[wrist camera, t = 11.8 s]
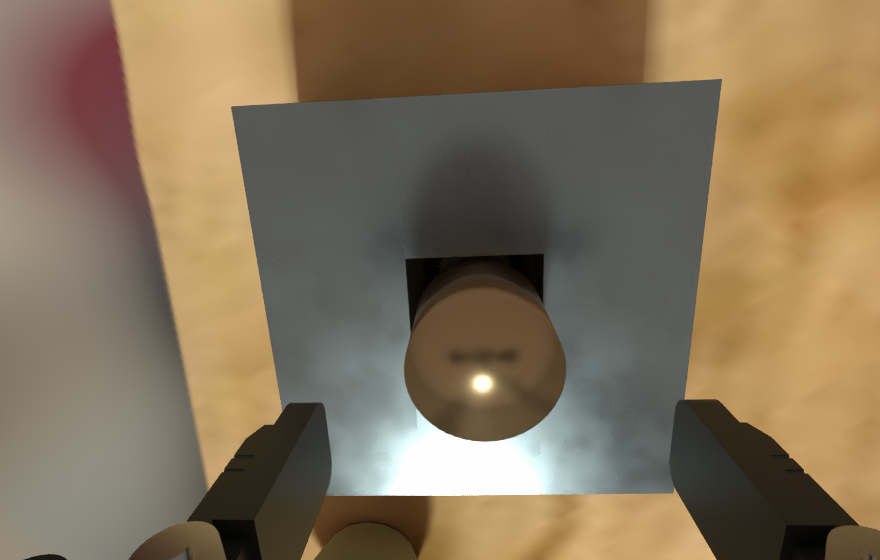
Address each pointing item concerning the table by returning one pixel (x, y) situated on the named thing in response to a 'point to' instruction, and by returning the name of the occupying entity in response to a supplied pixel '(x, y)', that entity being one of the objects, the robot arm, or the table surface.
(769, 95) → the table surface
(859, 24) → the table surface
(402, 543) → the squeeze bottle
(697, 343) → the table surface
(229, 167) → the table surface
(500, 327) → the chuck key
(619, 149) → the block
